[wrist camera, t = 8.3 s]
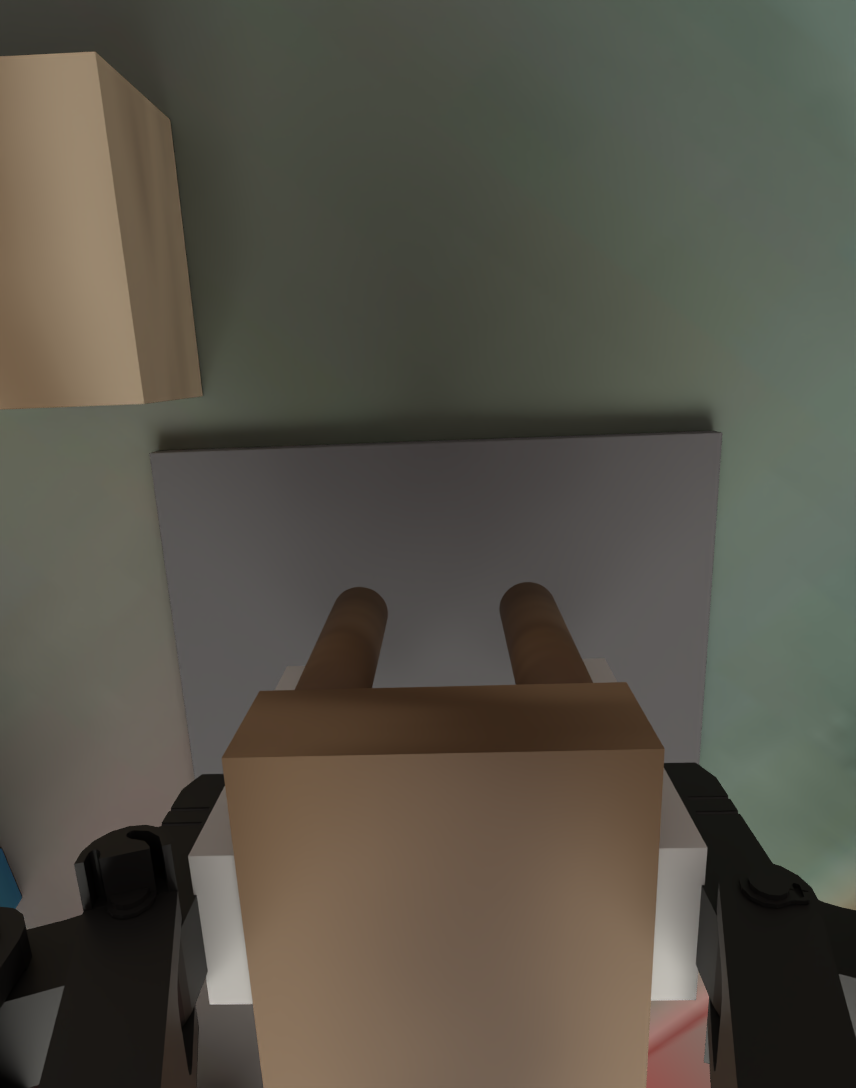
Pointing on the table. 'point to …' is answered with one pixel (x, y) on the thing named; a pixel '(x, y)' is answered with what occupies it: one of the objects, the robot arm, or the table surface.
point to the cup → (8, 885)
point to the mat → (441, 563)
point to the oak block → (89, 241)
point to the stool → (448, 867)
